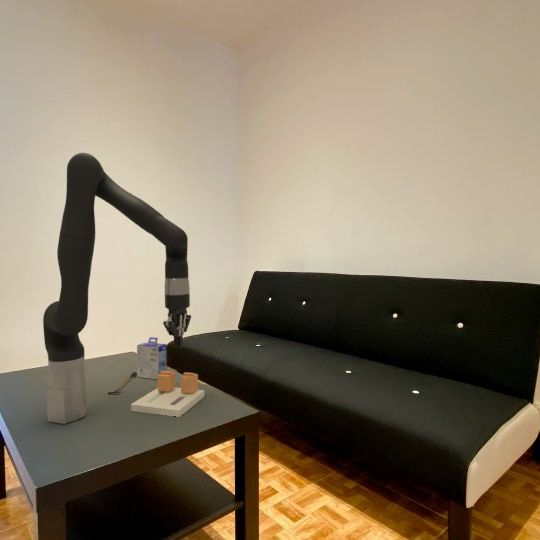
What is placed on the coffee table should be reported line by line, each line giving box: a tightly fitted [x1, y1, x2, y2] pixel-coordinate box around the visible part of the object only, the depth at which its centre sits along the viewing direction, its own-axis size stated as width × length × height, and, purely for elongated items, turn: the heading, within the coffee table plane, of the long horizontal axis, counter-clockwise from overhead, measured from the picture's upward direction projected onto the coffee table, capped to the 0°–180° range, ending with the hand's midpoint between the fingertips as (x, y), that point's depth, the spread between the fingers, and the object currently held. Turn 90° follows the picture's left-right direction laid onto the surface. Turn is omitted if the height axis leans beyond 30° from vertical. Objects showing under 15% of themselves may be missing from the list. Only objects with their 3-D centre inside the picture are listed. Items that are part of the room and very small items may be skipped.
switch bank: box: [130, 386, 205, 418], centre depth 121 cm, size 16×16×2 cm
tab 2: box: [180, 371, 199, 394], centre depth 125 cm, size 4×4×6 cm
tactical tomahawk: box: [107, 371, 137, 396], centre depth 139 cm, size 21×7×1 cm, turn 178°
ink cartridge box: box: [136, 336, 168, 380], centre depth 147 cm, size 10×6×14 cm, turn 71°
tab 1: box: [156, 371, 176, 392], centre depth 127 cm, size 4×4×6 cm
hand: (178, 347), depth 122 cm, fingers closed
